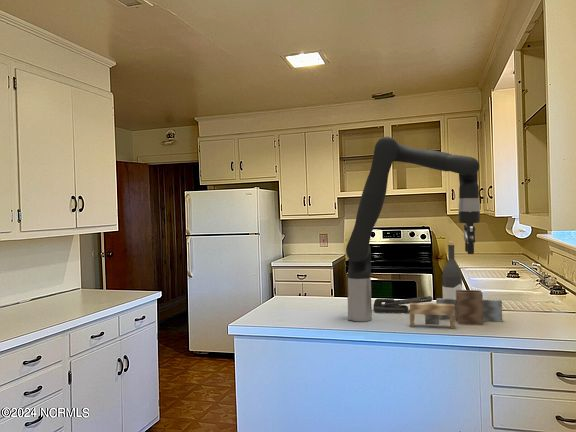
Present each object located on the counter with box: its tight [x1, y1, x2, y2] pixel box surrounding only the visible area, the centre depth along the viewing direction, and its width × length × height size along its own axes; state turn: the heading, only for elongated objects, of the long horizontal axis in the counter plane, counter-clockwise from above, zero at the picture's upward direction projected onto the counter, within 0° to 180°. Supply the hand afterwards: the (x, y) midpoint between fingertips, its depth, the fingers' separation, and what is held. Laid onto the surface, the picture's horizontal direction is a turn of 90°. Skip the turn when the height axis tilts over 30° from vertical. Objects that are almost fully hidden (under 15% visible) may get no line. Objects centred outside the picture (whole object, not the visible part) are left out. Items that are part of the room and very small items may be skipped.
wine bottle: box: [441, 240, 463, 299], centre depth 192 cm, size 8×8×30 cm
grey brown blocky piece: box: [435, 289, 503, 326], centre depth 174 cm, size 24×8×12 cm, turn 73°
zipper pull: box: [372, 295, 433, 314], centre depth 194 cm, size 9×7×25 cm
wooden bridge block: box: [409, 302, 456, 330], centre depth 168 cm, size 16×4×8 cm, turn 73°
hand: (469, 252), depth 170 cm, fingers open, 8 cm apart
